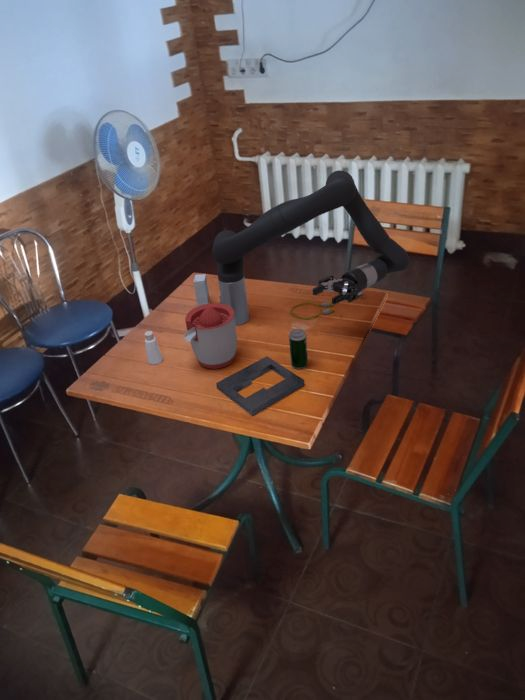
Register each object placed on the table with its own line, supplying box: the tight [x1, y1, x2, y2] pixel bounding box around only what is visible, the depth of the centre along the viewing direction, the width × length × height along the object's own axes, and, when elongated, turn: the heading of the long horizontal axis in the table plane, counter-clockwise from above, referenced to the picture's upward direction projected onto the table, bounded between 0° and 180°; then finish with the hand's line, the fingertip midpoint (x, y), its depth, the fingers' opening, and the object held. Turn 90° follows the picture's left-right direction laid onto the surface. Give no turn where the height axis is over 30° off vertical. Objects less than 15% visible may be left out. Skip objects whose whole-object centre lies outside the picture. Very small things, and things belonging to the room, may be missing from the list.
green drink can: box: [288, 328, 309, 370], centre depth 175 cm, size 5×5×12 cm
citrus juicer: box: [183, 302, 238, 370], centre depth 179 cm, size 16×17×20 cm
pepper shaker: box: [143, 330, 164, 366], centre depth 185 cm, size 5×5×11 cm
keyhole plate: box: [215, 356, 305, 417], centre depth 170 cm, size 20×18×2 cm
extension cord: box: [290, 301, 335, 321], centre depth 205 cm, size 12×16×2 cm
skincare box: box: [193, 273, 211, 307], centre depth 213 cm, size 6×4×12 cm
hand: (323, 296), depth 172 cm, fingers open, 8 cm apart
